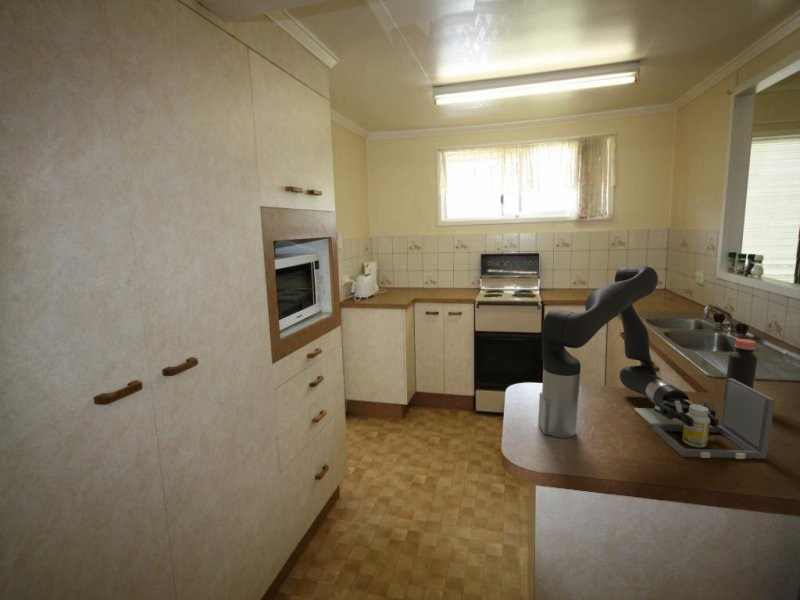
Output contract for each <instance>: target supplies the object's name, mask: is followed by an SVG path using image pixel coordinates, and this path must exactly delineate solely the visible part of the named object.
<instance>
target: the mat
mask: <svg viewBox="0 0 800 600" xmlns="http://www.w3.org/2000/svg"><path fill="white" fill-rule="evenodd" d="M633 410H634V411H635V412H636V413H637V414H638V415H639V416H640V417H641V418H643V420H645V421H646V422H648V424H649V425H651V426H652V425H653V424H675V425H684V423H683V422H681V421H678V420H676V418H673V419H672V420H671V419H668V418H666V417H665V416H663V415H661V414H659V413H658V412H656V411H655V407H654V408H653V407H652V408H648V407H646V408H645V407H640V408H639V407H633Z"/></svg>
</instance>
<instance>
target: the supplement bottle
mask: <svg viewBox="0 0 800 600" xmlns="http://www.w3.org/2000/svg"><path fill="white" fill-rule="evenodd" d="M701 405H702V404H697V405H694V404H693V405H690V406H689V412H688V413H686V414H687V415H688V416H690V417H691V418H692V419H693V426H692V427H689V426H687V425H686V424H684V428H683V432H682V437H681V438H682V441H683V443H685V444H686V445H689V446H691V447H695V448H705V447H707V446H708V443H709V435H710V434H709V433H710V432H709V427H710V418H709V417H708V416H707V415H708V408H706V407H704V406H701Z"/></svg>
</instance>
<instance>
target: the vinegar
mask: <svg viewBox="0 0 800 600" xmlns="http://www.w3.org/2000/svg"><path fill="white" fill-rule="evenodd" d="M756 344H757V343H756V341H754V340H752V339H746V338H736V339H735V341H734V350H733V352H731V353H729V354H728V362H727V370H726V377H725V378H726V379H725V384H724V385H725V386H724V391H723V393H724V394H723V400H724V401H725V395H726V387H727V380H728V378H733V379H735V380H737V381H739V382H741V383H743V384H745V385H747V386H749V387H751V388H753V389H754V387H755V385H754V384H755V380H756V379H755V377H756V371H757V365H758V357H757V356H756V355H755V354H754V351H755V349H756Z"/></svg>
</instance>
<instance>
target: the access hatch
mask: <svg viewBox="0 0 800 600" xmlns="http://www.w3.org/2000/svg"><path fill="white" fill-rule="evenodd" d="M775 404H776V399H774V398H772V397H770V396H769V395H767V394H764V393H762V392H761V391H759V390H757V389H755V388H754V387H753V388H751V387H749V386H747V385H745V384H743V383H741V382H739V381H737V380H735V379H733V378H728V380H727V387H726V395H725V400H724V404H723V411H722V417H721V423H720V425H718V427H712V426H711V425H710V427H709V433H718V434H721V435H722V436H723V437H725V438H726V437H727V438H726V439H728V440H729V439H730V440H729V441H731V442H732V441H733V442H734V445H736V444H737V446H738V447H739V446H740V447H739V448H741V449H738V450H737V449H709V448H708V449H704V448H703V449H702V448H701V449H700V448H685V447H684V446H682V445H681V444H680V443H679V442H678V441H677V440H676V439H675V438H673V437H672V436H671V435H670V434H669V433H667V432H681V433H683V428H684V425H675V424H653V425H651V429H652V430H653V431H654V433H656V434H657V435H658V436H659V437H660V438H661V439H662V440H663V441H665V442H666V443H667V444H668V445H669V446H670V447H671V448H673V450H675V451H676V452H677V453H678V454H679V455H680V456H681V457H683V458H684V457H687V458H701V459H703V458H704V459H711V458H716V459H717V458H719V459H720V458H721V459H726V458H727V459H737V460H745V459H753V458H755V459H756V460H757V459H758V460H760V459H762V460H766V459H767V454H768V447H769V441H770V436H771V429H772V423H773V416H774V410H775ZM733 442H732V443H733ZM743 449H744V450H743Z"/></svg>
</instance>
